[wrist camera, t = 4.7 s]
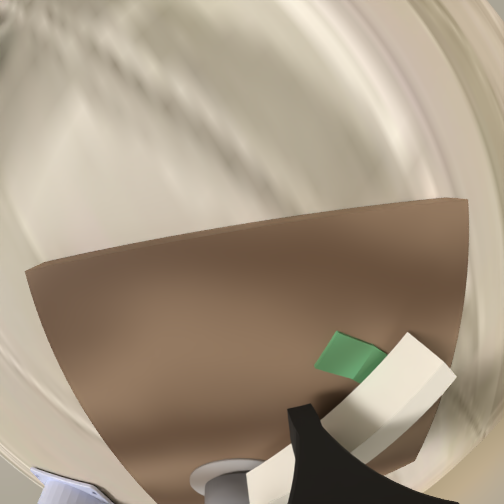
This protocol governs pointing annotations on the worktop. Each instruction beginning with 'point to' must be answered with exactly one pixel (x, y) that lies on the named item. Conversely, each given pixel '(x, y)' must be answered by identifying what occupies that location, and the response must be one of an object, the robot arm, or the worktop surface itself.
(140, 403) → the brown flat square board
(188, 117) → the worktop surface
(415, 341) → the peg lever
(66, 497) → the robot arm
